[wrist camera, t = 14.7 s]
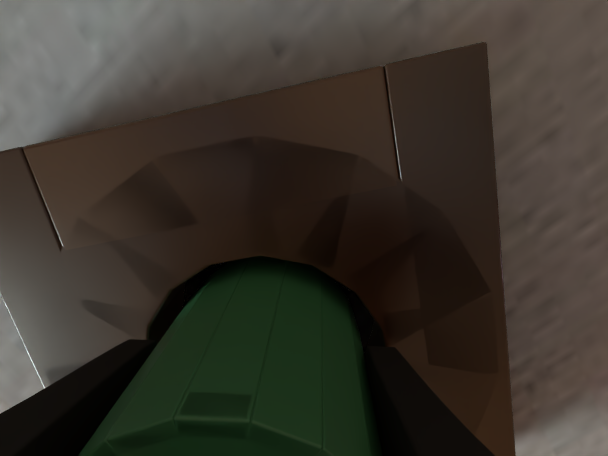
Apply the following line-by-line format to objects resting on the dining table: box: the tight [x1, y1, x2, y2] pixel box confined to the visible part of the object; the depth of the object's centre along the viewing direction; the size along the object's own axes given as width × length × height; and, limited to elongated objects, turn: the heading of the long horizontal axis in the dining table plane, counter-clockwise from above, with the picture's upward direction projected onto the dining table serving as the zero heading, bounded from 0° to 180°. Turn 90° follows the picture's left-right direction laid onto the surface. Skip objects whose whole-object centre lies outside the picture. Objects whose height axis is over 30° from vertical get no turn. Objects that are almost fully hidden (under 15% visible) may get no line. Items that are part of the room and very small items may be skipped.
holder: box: [0, 42, 516, 456], centre depth 10 cm, size 11×12×2 cm
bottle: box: [78, 256, 383, 456], centre depth 7 cm, size 5×5×8 cm
